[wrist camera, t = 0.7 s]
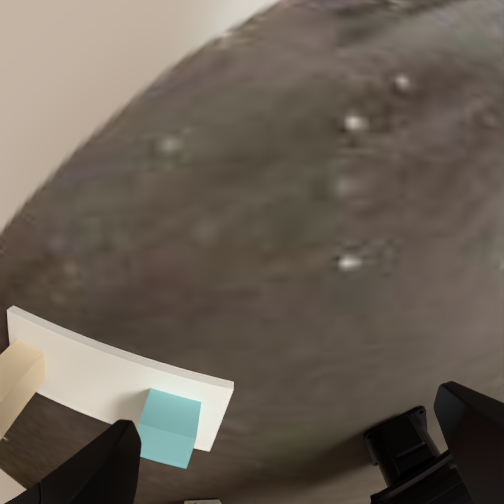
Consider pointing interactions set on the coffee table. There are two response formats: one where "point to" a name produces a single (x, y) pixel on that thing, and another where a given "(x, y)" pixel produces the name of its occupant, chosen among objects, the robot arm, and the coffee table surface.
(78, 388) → the white base with post
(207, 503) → the skincare box
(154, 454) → the teal block
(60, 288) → the coffee table surface
